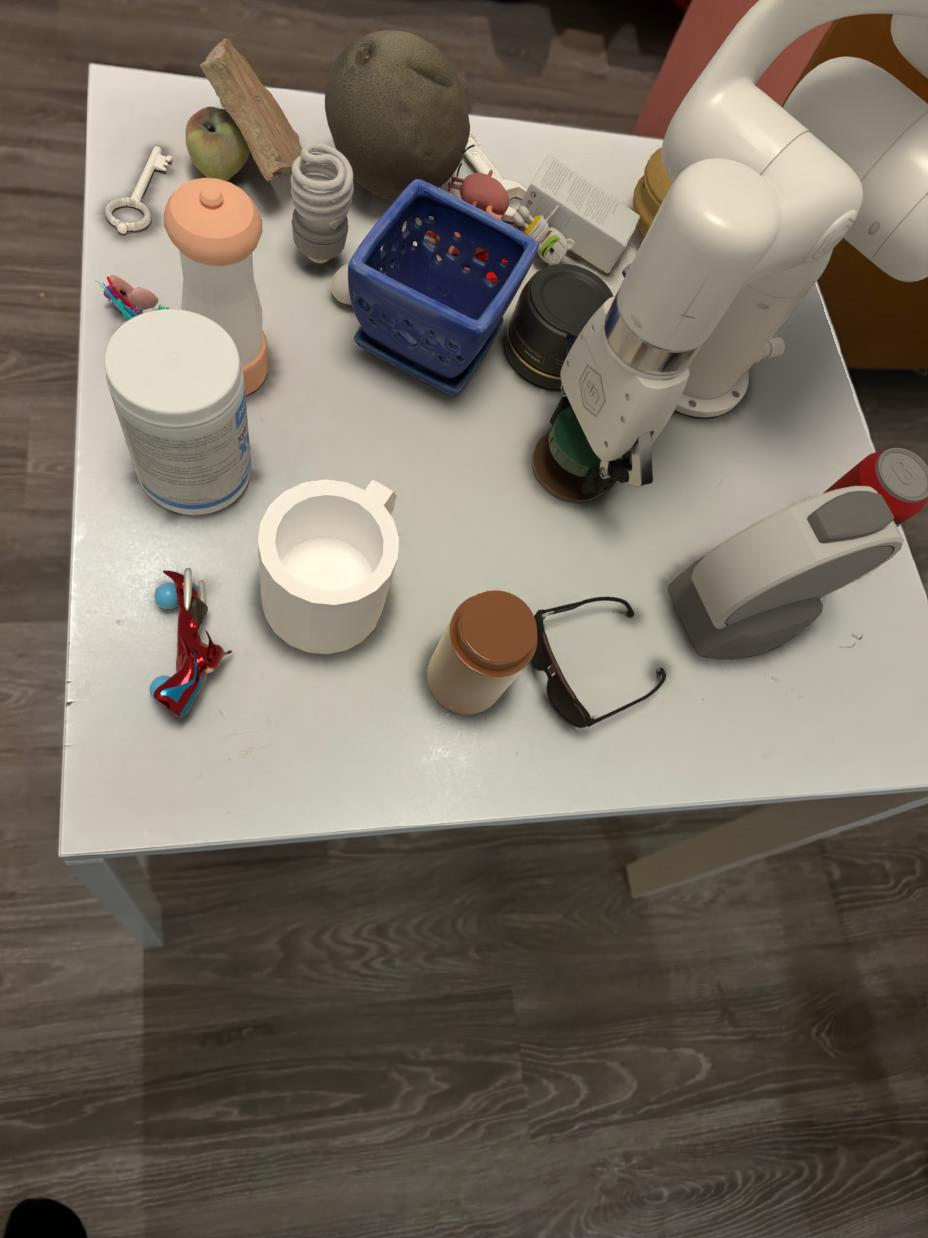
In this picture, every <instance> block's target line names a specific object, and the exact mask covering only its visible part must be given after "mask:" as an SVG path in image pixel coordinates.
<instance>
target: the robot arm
mask: <svg viewBox="0 0 928 1238" xmlns="http://www.w3.org/2000/svg"><path fill="white" fill-rule="evenodd" d="M875 14H876V15H878V14H880V15H892V16H891V20H890V34H891V38H892V42H893V44H894V45H895V47H896V48H897V50H898V51H899V53H900V54H901V55H902V56H903V58H904V59H905V60H906V61H907V62H908V64H910V65H911V66H912V67H913V68H914V69H915V70H917V71H918V72H919V73H920V74H921V75H922V76H923V77H924V78H925V79H927V80H928V0H758V1H757V2H756V3H754V5H753V6H751V7H750V8H749V9H748V11H747V12H746V13H745V14H744V15H743V16H742V17H741V19H740V20H738V22H737V23H736V24H735V26H734V27H733V29H732V30H731V31H730V33H729V34H727V35H728V36H727V37H726V39H724V41H723V42H722V44H721V45H720V46H719V48H718V49H717V51H716V52H715V54H713V56H712V58H711V59H710V61H709V62H708V63H707V65H706V66H705V68H704V69H703V71H702V72H700V74H699V76H698V78H697V79H696V80H695V82H694V83H693V85H692V86H691V87H690V89H689V90H688V92H687V93H686V94H685V96H684V98H683V99H682V101H681V102H680V104H679V106H678V107H677V109H676V110H675V113H674V114H673V116H672V118H671V120H670V121H669V124H668V126H667V129H666V131H665V133H664V135H663V140H662V144H661V147H662V163H663V166H664V169H665V171H666V173H667V174H668V176H669V177H670V179H671V180H672V181H673V184H672V185H671V187H670V189H669V190H668V192H667V194H666V196H665V198H664V200H663V202H662V204H661V206H660V208H659V210H658V212H657V214H656V216H655V218H654V220H653V222H652V224H651V226H650V228H649V230H648V232H647V234H646V236H645V238H644V237H643V240H642V242H641V244H640V246H639V248H638V250H637V252H636V255H635V256H634V258H633V260H632V262H631V263H629V264H627V265H626V266H625V267H624V268H622V271H621V275H622V277H623V280H622V282H621V283H620V287H619V288H618V290H617V292H616V294H615V295H613V296H614V297H611V298H609V299H608V300H607V301H606V302H605V303H604V304H603V305H602V306H601V307H600V308H599V309H598V310H597V311H596V312H595V314H594V315H593V316H592V317H591V318H590V320H589V321H588V322H587V324H586V325H585V326H584V328H583V329H582V331H579V332H574V333H568V334H567V336H566V354H567V357H566V359H565V361H564V363H563V366H562V369H561V373H560V376H561V382H562V385H561V389H560V393H561V395H562V397H560V399H559V401H558V403H557V406H556V407H555V410H554V412H553V414H552V415H551V418H550V420H549V423H550V425H551V426H552V425H553V424H554V422H555V420H556V418H557V416H558V414H559V413H560V412H561V411H562V410H563V409H565V408H566V407H568V406H570V405H571V406H572V408H573V410H574V413H575V415H576V417H577V419H578V421H579V423H580V425H581V427H582V429H583V431H584V434H585V436H586V438H587V440H588V442H589V444H590V446H591V448H592V449H593V451H594V452H595V454H596V455H597V456H598V457H599V458H600V459H601V461H600V465H598V466H595V467H593V469H592V470H591V472H590V473H589V475H588V477H587V478H586V480H585V481H584V483H583V484H582V486H581V487H582V488H581V490H582V493H583V494H587V493H591V492H595V491H596V492H597V494H601V493H602V494H605V493H608V492H610V491H611V490H612V489H613V488H614V486H615V485H616V484H617V482H618V483H620V484H625V483H626V484H628V485H630V486H634V487H635V488H642V487H646V486H649V485H652V484H653V482H654V472H653V469H654V468H653V454H652V453H653V452H652V451H653V449H652V446H653V445H654V443H655V442H656V441H657V439H658V438H659V436H660V435H661V433H662V432H663V430H664V429H665V427H666V425H667V424H668V422H669V421H670V419H671V417H672V416H673V413H674V412H675V411H676V412H678V413H681V414H683V415H685V416H690V417H695V418H712V417H713V418H714V417H719V416H721V415H724V414H727V413H728V412H730V411H731V410H734V408H735V407H736V406H737V405H738V404H739V403H740V402H741V400H742V399H743V398H744V396H745V395H746V393H747V390H748V388H749V382H750V373H749V370H750V368H751V367H752V366H753V365H755V364H758V363H760V361H761V360H762V359H770V358H776V357H779V356H782V355H783V354H784V352H785V348H786V344H785V341H784V339H783V338H782V337H778V336H776V337H774V335H775V334H776V332H778V330H779V329H780V328H781V326H782V325H783V324H784V323H785V321H786V320H787V319H788V318H789V316H790V315H791V314H792V313H793V311H794V310H795V309H796V308H797V307H798V305H799V304H800V303H801V302H802V300H803V299H804V298H805V296H806V295H807V294H808V293H809V291H810V290H811V289H812V288H813V287H814V285H816V283H817V281H818V280H819V279H820V278H821V276H822V275H823V274H824V272H825V270H826V268H827V266H828V264H829V262H830V259H831V257H832V255H833V251H834V248H835V247H836V246H837V245H838V244H839V243H840V242H841V241H842V240H843V239H844V240H845V241H847V242H848V244H850V245H851V246H853V248H855V250H857V251H858V252H860V254H862V255H863V256H864V257H865V258H866V259H868V260H869V261H870V262H871V263H873V264H874V265H875V266H876V267H877V268H878V269H879V270H881V271H882V272H884V273H885V274H886V275H888V276H890V277H891V278H893V279H894V280H897V281H900V282H903V283H913V282H918V281H921V280H925V279H926V278H928V103H927V102H926V101H925V100H923V99H922V98H921V97H920V96H919V95H918V94H916V93H915V92H914V91H912V90H911V89H910V88H909V87H908V86H906V85H905V84H904V83H902V82H901V81H900V80H899V79H898V78H896V77H895V76H894V75H893V74H891V73H889V72H888V71H887V70H885V69H884V68H883V67H880V66H878V65H877V64H874V63H873V62H870V61H868V60H867V59H863V58H860V57H854V56H839V57H835V58H830V59H828V60H826V61H824V62H822V63H820V64H818V65H817V66H816V67H814V68H813V69H811V71H809V72H808V73H806V75H805V76H804V77H803V78H802V79H801V80H800V81H799V82H798V84H797V85H796V86H795V87H794V89H793V90H792V91H791V93H790V94H789V96H788V98H787V99H786V101H785V103H784V105H782V106H781V105H780V104H778V103H777V102H776V101H775V100H774V99H773V98H771V97H770V96H769V95H768V94H767V93H766V92H764V91H763V90H762V89H760V88H759V87H758V85H757V83H758V81H759V80H760V79H761V77H762V76H763V75H764V74H765V72H766V71H767V70H768V68H769V67H770V66H771V64H773V62H774V61H775V60H776V59H777V58H778V57H779V56H780V55H781V54H782V53H783V51H784V50H786V49H787V48H788V47H789V46H790V45H791V44H792V43H794V42H795V41H796V40H797V39H799V38H800V37H802V36H803V35H804V34H806V33H808V32H809V31H811V30H813V29H815V28H817V27H819V26H821V25H823V24H826V23H829V22H832V21H836V20H840V19H842V18H847V17H853V16H860V15H875ZM756 85H757V86H756ZM620 457H621V458H620ZM618 458H620V459H618ZM616 459H617V460H616ZM602 494H601V495H602Z"/></svg>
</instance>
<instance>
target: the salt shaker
mask: <svg viewBox="0 0 928 1238" xmlns="http://www.w3.org/2000/svg"><path fill="white" fill-rule="evenodd" d="M163 227H164V229H165V231H166V233H167V236H168V237H169V239H170V242H171V243H172V244H173V245H174V246H175V247H176V248H177V249H178V250H179V257H180V258H179V259H180V266H181V271H182V288H181V289H182V291H181V308H180V310H185V311H190V312H193V313H197V314H200V315H202V316H205V317H207V318H209V319H211V320H212V321H214V322H216V323H217V324H218V325H220V326H221V327H222V328H223V329H224V330H225V331H226V332H227V333H228V334H229V335H230V337H231V338H232V339H233V341H234V343H235V345H236V347H237V350H238V353H239V357H240V361H241V364H242V368H243V376H244V385H245V395H246V396H248V395H250V394H251V393H253V392H255V391H257V390H258V389H259V388H260V387H261V385H262V384H263V383H264V382H265V380H266V377H267V374H268V372H269V371H268V342H267V341H268V340H267V336H266V334H265V331H264V330H263V308H262V304H261V300H260V296H259V292H258V288H257V283H256V279H255V276H254V275H255V274H254V259H253V257H254V256H253V252H255V250H256V249H257V247H258V244H259V242H260V239H261V238H262V237H261V236H262V234H263V219H262V216H261V214H260V212H259V210H258V207H257V205H256V204H255V202H254V201H253V200H252V198H251V197H250V196H249V195H247V193H246V192H245V191H244V190H243V189H242V188H241V187H239V186H237V185H235V184H234V183H232V182H230V181H224V180H220V179H215V178H207V177H201V178H195V179H191V180H189V181H187V182H184V183H182V184H180V186H179V187H177V188H176V189H175V190H174V191H173V192H172V194H171V195H170V196H169V197H168V199H167V202H166V204H165V207H164V211H163Z"/></svg>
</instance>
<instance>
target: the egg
mask: <svg viewBox="0 0 928 1238" xmlns="http://www.w3.org/2000/svg"><path fill="white" fill-rule="evenodd" d="M348 264H349V261H348V262H346V263H344V264H343V265H342V266H341V267H340V268H339V269H338V270H336V272H335V273H334V275H333V276H332V279H331V284H330V289H331V292H332V294H331V295H333V296H334V298H335V299H336V300H337V301H338V302H340V303H342V304H345V305H351V306H352V304H351V300H350V295H349V287H348ZM381 270H382V268H381ZM381 270H380V272H381Z"/></svg>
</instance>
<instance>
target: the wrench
mask: <svg viewBox="0 0 928 1238" xmlns="http://www.w3.org/2000/svg"><path fill="white" fill-rule="evenodd" d="M471 145H475V146H474V147H472V148H470V149H468V150H467V151H466V152H465V153H464V156H465V157H466V159H467V160H468V162H469V163H470V164H471V165H472V167H473V168H474V169H475V170H476V173H483V174H487V175H488V173H489V171H490V170H492V171H493V174H492V176H491V177H493V178H495V179H496V180H498V181H499V182H500V183H501V184H502V185H503V187H504V188H505V190H506V191H507V194H508V196H509V200H511V199H514V198H518V199H520V200H521V201H522V200H523V198H524V196H525V194H526V191H527V189H528V188H527V187H525V186H524V185H522V184H521V183H519V182H518V181H514V180H511V179H504V178H503V177H502V175H501V174H500V173H499V171H498V170H497V169H496V167H495V166H494V165H493V164H492V162H491V161H490V160H489V158H488V157H487V156H486V155H485V153H484V152H483V151H482V149H481V148H480V146H481V142H479V140H478V139H477V137H476V136H475V134H473V132H472V131H470V134H469V139H468V143H467V146H466V149H467V148H468V147H469V146H471ZM466 149H465V150H466ZM516 212H517V210H516V209H514V208H512V207H511V206H509V207H508V209H507V211H506V212H505V214H504V215H502V221H504V222H510V223H514V221H513V214H514V213H516Z"/></svg>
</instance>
